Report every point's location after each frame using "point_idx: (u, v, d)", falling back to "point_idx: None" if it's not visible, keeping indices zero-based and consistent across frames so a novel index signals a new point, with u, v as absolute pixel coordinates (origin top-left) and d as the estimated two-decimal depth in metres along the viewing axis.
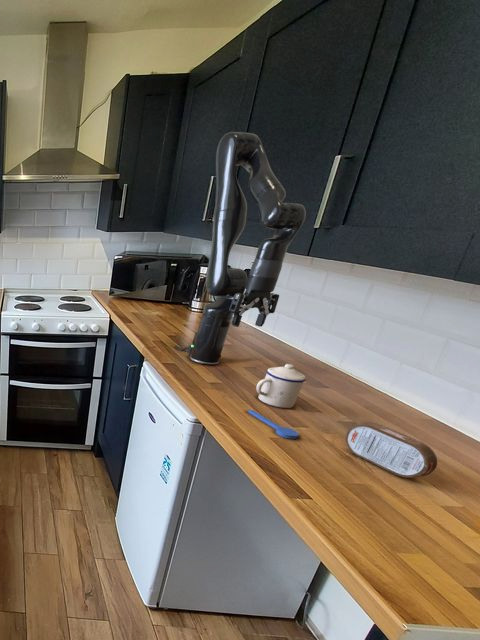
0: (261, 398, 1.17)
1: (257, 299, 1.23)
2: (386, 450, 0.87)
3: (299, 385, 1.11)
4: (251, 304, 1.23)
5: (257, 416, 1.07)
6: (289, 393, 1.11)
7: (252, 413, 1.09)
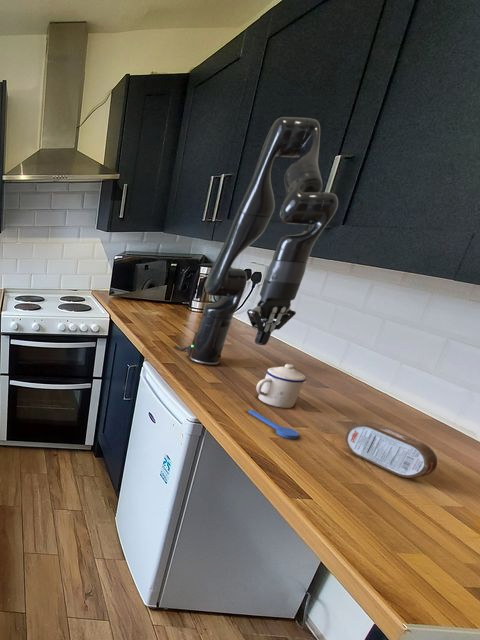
0: (261, 398, 1.17)
1: (275, 309, 1.02)
2: (386, 450, 0.87)
3: (299, 385, 1.11)
4: (271, 316, 1.03)
5: (257, 416, 1.07)
6: (289, 393, 1.11)
7: (252, 413, 1.09)
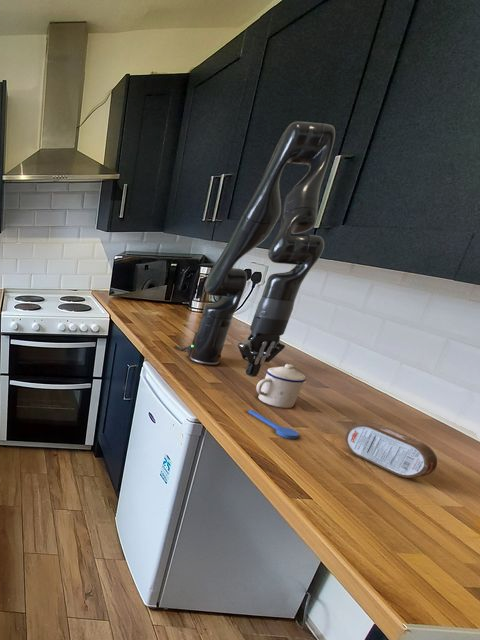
0: (261, 398, 1.17)
1: (264, 343, 1.06)
2: (386, 450, 0.87)
3: (299, 385, 1.11)
4: (261, 350, 1.07)
5: (257, 416, 1.07)
6: (289, 393, 1.11)
7: (252, 413, 1.09)
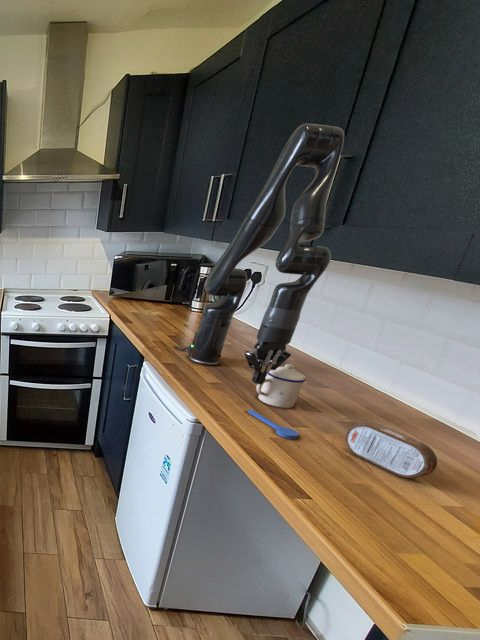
0: (261, 398, 1.17)
1: (271, 351, 1.08)
2: (386, 450, 0.87)
3: (299, 385, 1.11)
4: (268, 358, 1.09)
5: (257, 416, 1.07)
6: (289, 393, 1.11)
7: (252, 413, 1.09)
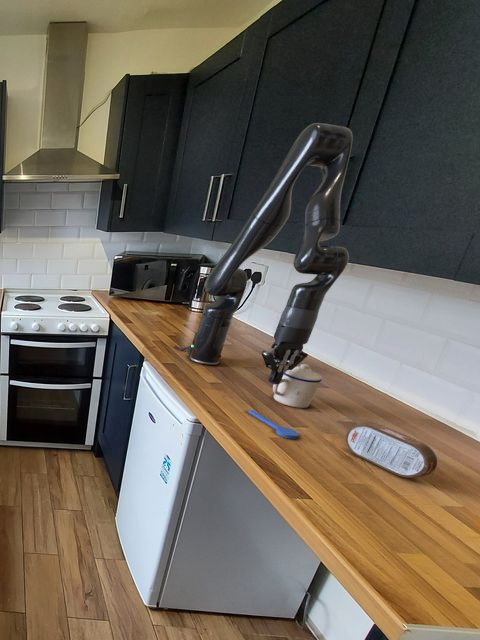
0: (277, 398, 1.17)
1: (288, 351, 1.08)
2: (386, 450, 0.87)
3: (316, 385, 1.11)
4: (285, 358, 1.09)
5: (257, 416, 1.07)
6: (305, 393, 1.12)
7: (252, 413, 1.09)
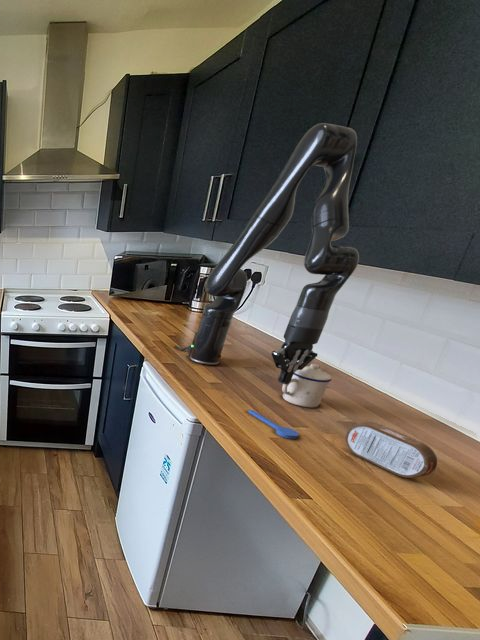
0: (286, 398, 1.18)
1: (298, 351, 1.08)
2: (386, 450, 0.87)
3: (325, 385, 1.12)
4: (295, 358, 1.09)
5: (257, 416, 1.07)
6: (315, 393, 1.12)
7: (252, 413, 1.09)
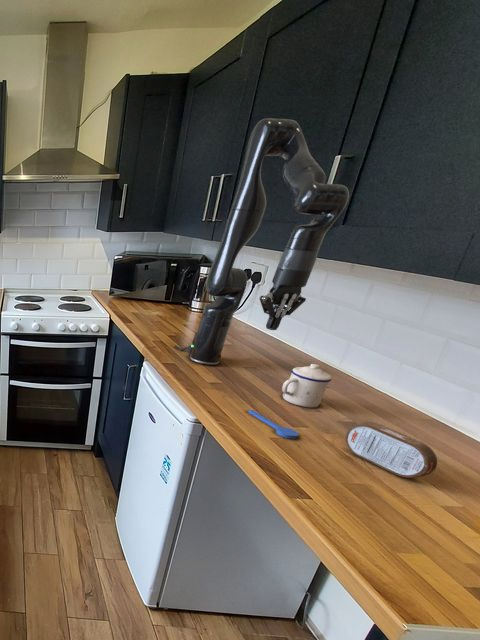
0: (286, 398, 1.18)
1: (286, 295, 1.08)
2: (386, 450, 0.87)
3: (325, 385, 1.12)
4: (283, 302, 1.09)
5: (257, 416, 1.07)
6: (315, 393, 1.12)
7: (252, 413, 1.09)
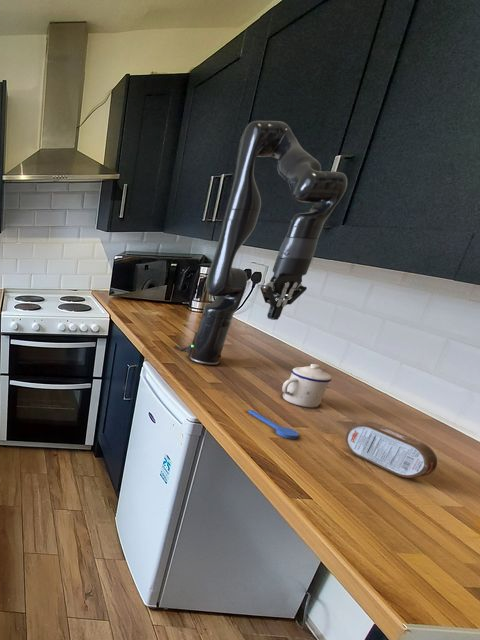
0: (286, 398, 1.18)
1: (287, 284, 1.08)
2: (386, 450, 0.87)
3: (325, 385, 1.12)
4: (284, 291, 1.09)
5: (257, 416, 1.07)
6: (315, 393, 1.12)
7: (252, 413, 1.09)
